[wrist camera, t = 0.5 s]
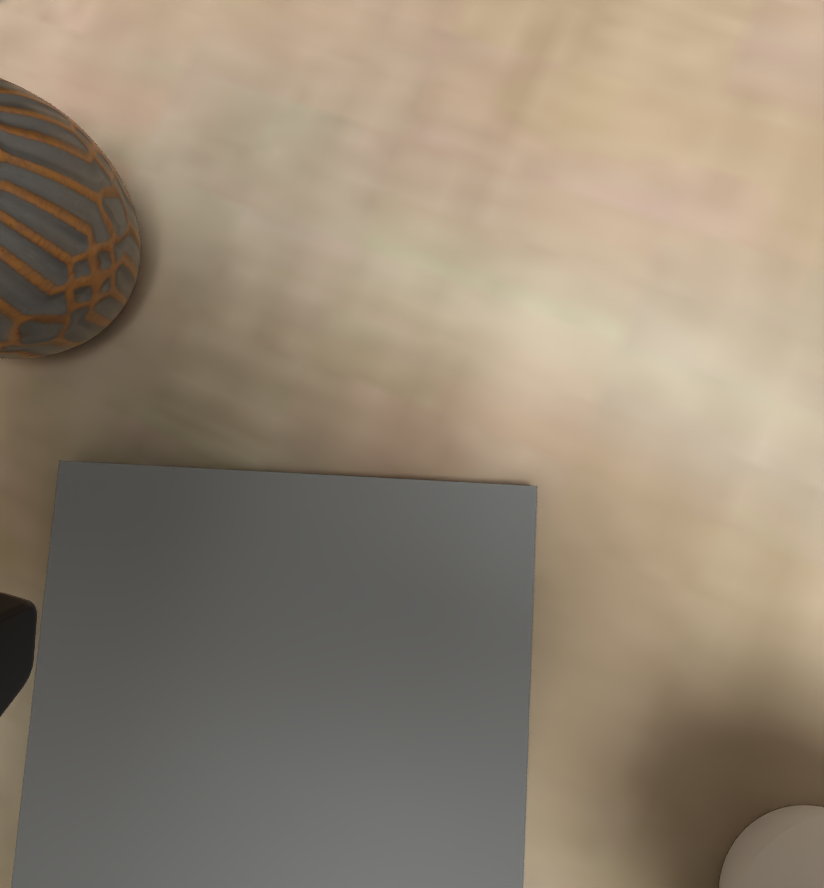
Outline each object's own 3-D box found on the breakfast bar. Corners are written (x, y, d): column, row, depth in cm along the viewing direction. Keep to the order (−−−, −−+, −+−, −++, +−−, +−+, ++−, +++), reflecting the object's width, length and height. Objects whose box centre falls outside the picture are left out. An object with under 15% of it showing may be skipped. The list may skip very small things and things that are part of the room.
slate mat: (515, 994, 20) (518, 1014, 19) (18, 955, 20) (1, 973, 19) (533, 487, 21) (537, 485, 21) (72, 463, 22) (59, 460, 21)
